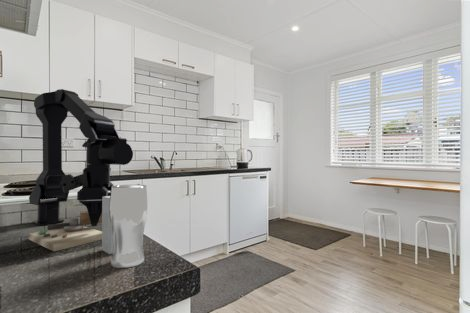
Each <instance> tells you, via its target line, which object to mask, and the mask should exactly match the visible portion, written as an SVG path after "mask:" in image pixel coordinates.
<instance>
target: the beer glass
mask: <svg viewBox="0 0 470 313" xmlns="http://www.w3.org/2000/svg"><path fill="white" fill-rule="evenodd" d="M147 187H148V186H147V185H145V184H117V185H114V186H112V187H111V194H110V206H109V214H110V223H111V229H112V235H113V243H114V248H113V254H111V258H110V259H111V261H110V265H111V266H112V267H113V268H116V269H128V268H129V269H130V268H133V267H137V266H139V265H141V264H142V263H143V262H144V261H145V254H144V253H145V252H144V249H143V239H144V232H145V227H146V224H147V214H148V192H147V191H148V190H147Z"/></svg>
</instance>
